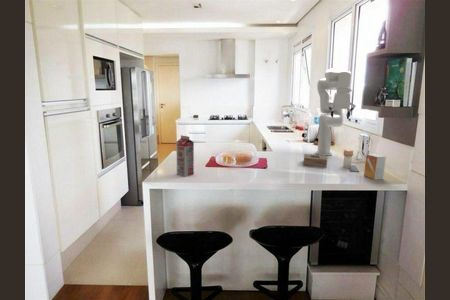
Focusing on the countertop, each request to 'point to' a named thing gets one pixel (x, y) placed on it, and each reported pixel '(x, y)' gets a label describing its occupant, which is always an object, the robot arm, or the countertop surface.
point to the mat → (353, 169)
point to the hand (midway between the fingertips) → (339, 117)
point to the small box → (374, 166)
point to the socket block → (315, 160)
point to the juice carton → (185, 157)
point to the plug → (347, 158)
